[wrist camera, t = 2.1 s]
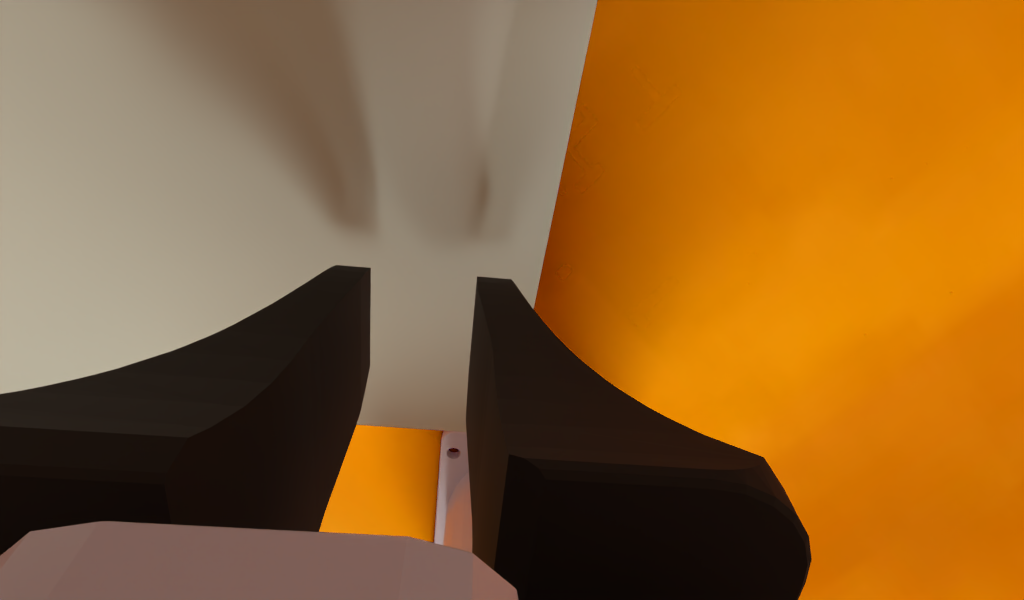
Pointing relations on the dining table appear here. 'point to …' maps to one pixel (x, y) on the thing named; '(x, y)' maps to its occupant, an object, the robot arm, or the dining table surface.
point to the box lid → (276, 174)
